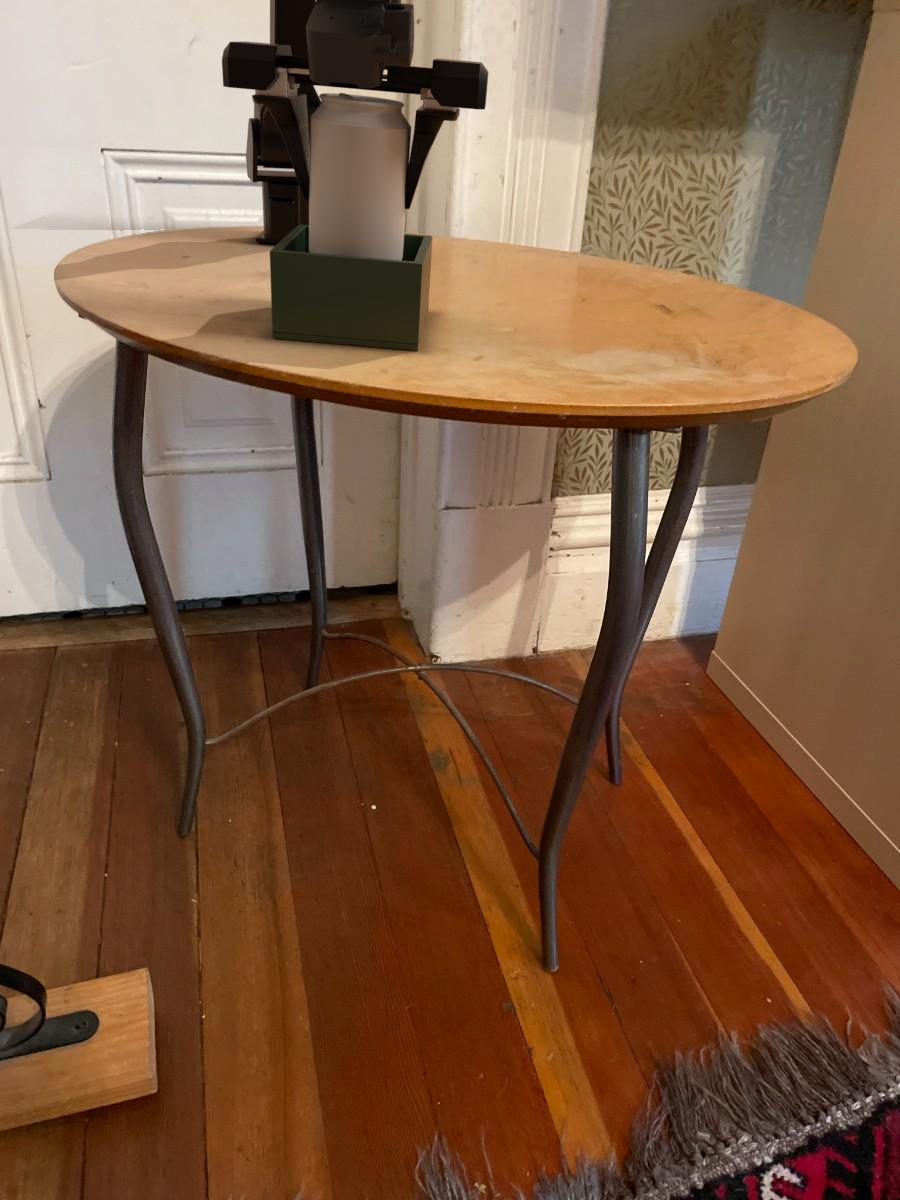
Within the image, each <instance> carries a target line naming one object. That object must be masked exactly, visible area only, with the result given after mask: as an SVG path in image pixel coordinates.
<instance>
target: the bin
mask: <svg viewBox="0 0 900 1200" xmlns="http://www.w3.org/2000/svg"><path fill="white" fill-rule="evenodd" d="M432 251H433V235H427V234H414V233H404V245H403V258H402V260H390V259H379V258H367V257H355V256H344V255H332V254H321V253H310V251H309V225H300V224H299V225H298V226H297V227H296V228H295V229H294V230H293V231H291V232H290V233H289V234H288V235H287V236H286V237H285V238H284V239H283V240H281V241H280V242H279V243H278V244H276V245H275V246H274V247H272V248H271V250H269V267H270V268H269V269H270V270H269V271H270V273H269V274H270V275H269V276H270V300H271V301H270V302H271V304H270V305H271V327H272V328H271V329H272V332H271V333H272V339H274V340H275V339H276V340H289V341H299V342H309V343H311V342H313V343H321V344H333V345H347V346H356V347H369V348H379V349H380V348H381V349H391V350H393V349H394V350H404V351H412V352H413V351H415V352H418V351H419V347H420V344H421V341H422V337H423V334H424V329H425V326H426V322H427V318H428V315H429V306H430V305H429V304H430V303H429V302H430V289H431V288H430V287H431V286H430V285H431V272H432V271H431V269H432V253H433V252H432Z"/></svg>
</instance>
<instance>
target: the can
mask: <svg viewBox="0 0 900 1200" xmlns="http://www.w3.org/2000/svg"><path fill="white" fill-rule="evenodd" d="M318 96H319V98H320V100H321V105H320V106H319V107H318V108H317V110H316V111H315V112H314V113H313V114H312V115H311V117H310V186H309V251H310V253H321V254H332V255H344V256H355V257H367V258H379V259H390V260H402V258H403V245H404V234H405V228H406V214H407V213H406V212H407V209H405V186H406V179H407V173H408V167H409V160H410V154H411V136H412V125H411V124H410V123H409V121H408V119H407V118H406V116H405V115H404V114H403V108H404V107H405V103H404V102H403V101H399V100H395V99H389V98H385V97H377V96H369V95H360V94H351V93H350V94H349V93H345V92H339V93H337V92H336V93H333V92H332V93H331V92H328V93H326V92H325V93H320V94H318Z"/></svg>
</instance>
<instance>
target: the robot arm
mask: <svg viewBox="0 0 900 1200" xmlns="http://www.w3.org/2000/svg"><path fill="white" fill-rule="evenodd" d="M414 48H415V7H414V4H412V3H403V2H402V0H269V43H268V42H267V43H266V42H256V41H254V42H253V41H229V42H228V43H227V45H226V47H225V48H224V49H223V51H222V56H221V69H222V70H221V71H222V86H223V87H225V88H231V89H241V90H242V89H243V90H252V91H253V90H254V94H251V99H252V103H253V117H249V118H248V124H247V134H246V135H247V136H246V137H247V138H246V149H245V163H246V175H247V178H248V179H249V180H250V182H251V183H253V184H254V183H256V184H257V183H261V190H262V191H261V192H262V193H261V195H262V221H263V222H262V223H263V230H262V231H261V232H260V233H259V234H257V235H256V236H255V237H254V241H255V243H265V244H276V245H277V244H278V243H279V242H280V241H281V240H283V239H284V238H285V237H286V236H287V235H288V234H289V233H290V232H291V231H293V230H294V229H295V228H296V227H297V226H298V225H299V224H300V225H309V186H310V117H311V115H312V114H313V113H314V112H315V111H316V110H317V108H318V107H319V106H320V105H321V99H320V98H319V94H318V92H317V90H316V87H315V86H317V87H329V88H341V89H352V90H364V91H373V92H374V91H376V92H385V93H395V94H396V93H397V94H406V95H407V94H408V95H409V94H410V95H419V96H420V101H422V105H420V106H419V107H418V108H417V109H416V110H415V115H414V116H415V117H414V129H413V136H412V141H411V147H410V154H409V167H408V173H407V179H406V186H405V209H406V210H410V209H411V207H412V204H413V201H414V198H415V195H416V192H417V189H418V186H419V183H420V181H421V177H422V175H423V171H424V168H425V166H426V162H427V159H428V157H429V154H430V151H431V150H432V147H433V145H434V143H435V141H436V138H437V136H438V134H439V132H440V130H441V128H442V126H443V124H444V122H445V121H446V122H456V121H458V119H459V117H460V113H461V111H460V110H461V109H467V110H468V109H469V110H486V106H487V95H488V83H489V70H488V69H487V68H486V66H485V65H484V63H483V62H482V61H471V60H459V59H449V58H439V57H437V58H433V59H432V66H431V67H427V66H414V65H411V64H412V61H413V56H414ZM385 71H386V73H384V72H385ZM258 167H262V168H263V169H258ZM267 169H268V170H267ZM269 169H271V170H269ZM272 169H284V170H272ZM285 169H286V170H285ZM287 169H288V170H287ZM292 170H293V171H292Z"/></svg>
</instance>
